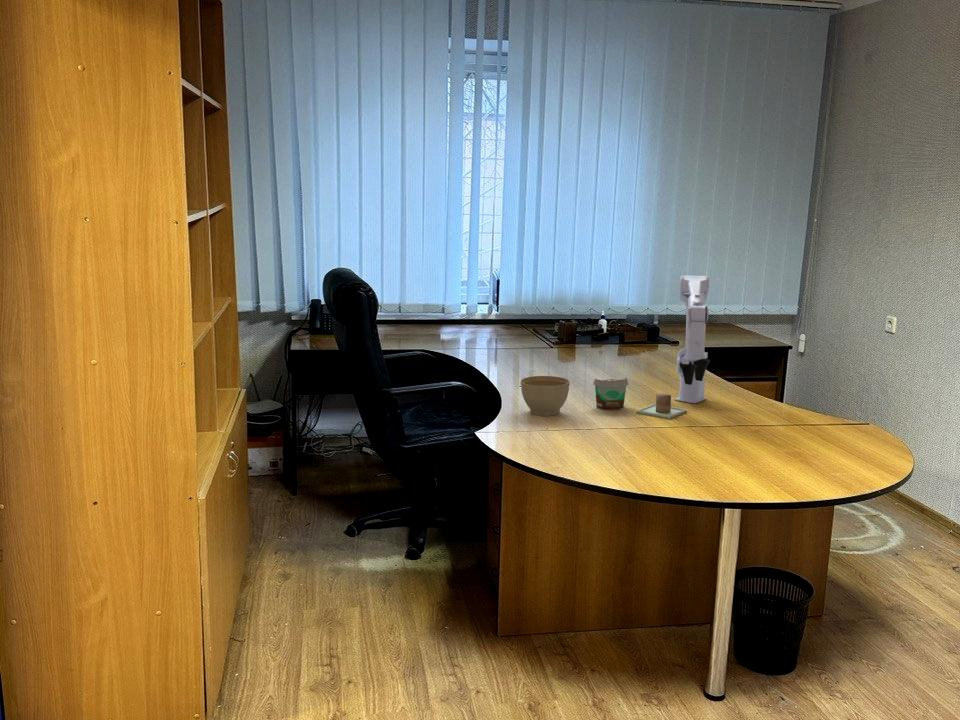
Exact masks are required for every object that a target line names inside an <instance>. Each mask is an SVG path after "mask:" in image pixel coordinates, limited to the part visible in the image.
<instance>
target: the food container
mask: <svg viewBox="0 0 960 720" xmlns="http://www.w3.org/2000/svg"><path fill="white" fill-rule="evenodd" d="M592 384H593V385H594V388H595V402H596V403H595V405H596V408H598V409H601V410H607V411H616V410H617V411H619V410H623V409H624V407H625V397H626V390H627V387H628V385H629V380H628V377H627V376H625V377H624V379H612V378H611V379H610V378H609V379H603V380H602V379H599V378H594V380H593V383H592Z"/></svg>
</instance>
